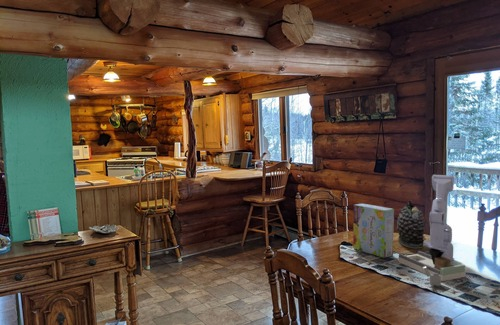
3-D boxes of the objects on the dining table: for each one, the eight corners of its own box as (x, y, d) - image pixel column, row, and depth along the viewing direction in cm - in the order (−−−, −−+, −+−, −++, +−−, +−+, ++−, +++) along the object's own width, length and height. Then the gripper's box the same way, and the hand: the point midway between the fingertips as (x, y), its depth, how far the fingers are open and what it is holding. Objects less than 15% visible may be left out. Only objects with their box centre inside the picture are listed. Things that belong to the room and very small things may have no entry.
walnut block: (442, 266, 189) (442, 256, 189) (451, 270, 185) (451, 259, 184) (434, 268, 188) (434, 257, 187) (442, 271, 183) (443, 261, 182)
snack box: (394, 255, 214) (395, 208, 212) (384, 258, 209) (384, 210, 207) (362, 246, 232) (362, 202, 229) (352, 248, 227) (352, 204, 225)
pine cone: (431, 249, 223) (432, 205, 220) (404, 250, 223) (405, 206, 221) (416, 239, 244) (417, 199, 241) (391, 239, 244) (392, 199, 241)
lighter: (439, 284, 175) (440, 266, 174) (440, 285, 173) (441, 268, 172) (422, 283, 176) (422, 265, 176) (423, 284, 175) (423, 267, 174)
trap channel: (419, 258, 209) (419, 248, 209) (465, 276, 183) (465, 265, 182) (398, 261, 204) (398, 251, 204) (441, 281, 178) (442, 269, 178)
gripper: (418, 233, 194) (417, 260, 195) (442, 241, 181) (441, 270, 182) (429, 232, 197) (429, 258, 198) (454, 239, 183) (453, 268, 184)
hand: (435, 264), depth 190 cm, fingers closed
